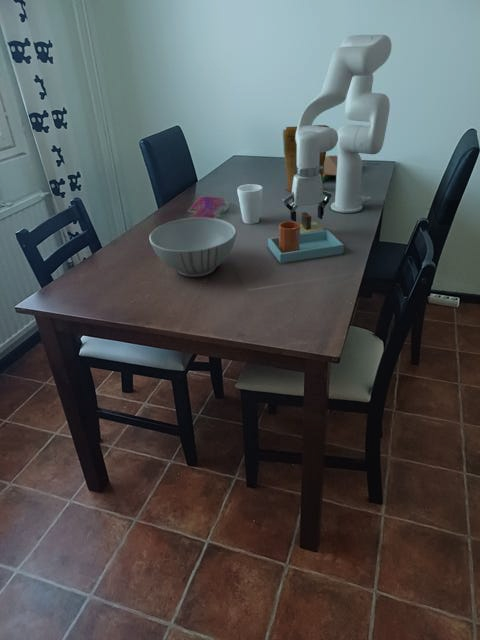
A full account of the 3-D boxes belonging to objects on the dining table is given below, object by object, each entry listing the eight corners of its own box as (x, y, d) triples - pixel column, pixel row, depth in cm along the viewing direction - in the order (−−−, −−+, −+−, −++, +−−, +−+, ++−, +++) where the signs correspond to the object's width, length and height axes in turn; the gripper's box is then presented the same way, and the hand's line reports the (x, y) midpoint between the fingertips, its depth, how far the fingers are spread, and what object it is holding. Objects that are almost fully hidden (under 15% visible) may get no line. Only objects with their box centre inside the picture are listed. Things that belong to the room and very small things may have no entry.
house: (360, 166, 241) (362, 150, 236) (340, 185, 217) (341, 167, 212) (318, 163, 250) (318, 147, 246) (293, 180, 226) (293, 163, 222)
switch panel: (314, 228, 175) (314, 220, 174) (323, 237, 168) (324, 229, 166) (283, 232, 173) (283, 224, 172) (291, 242, 166) (291, 234, 164)
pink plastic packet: (215, 230, 179) (214, 217, 176) (177, 228, 182) (176, 215, 179) (234, 203, 203) (234, 191, 200) (201, 202, 206) (199, 190, 203)
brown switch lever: (301, 224, 171) (301, 212, 168) (305, 224, 171) (306, 211, 169) (306, 229, 167) (306, 216, 164) (310, 229, 167) (311, 216, 165)
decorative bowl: (206, 296, 137) (203, 257, 130) (137, 276, 149) (130, 241, 143) (253, 259, 156) (252, 224, 149) (188, 245, 168) (184, 212, 162)
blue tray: (327, 238, 167) (327, 229, 165) (343, 254, 156) (343, 244, 154) (268, 247, 163) (268, 238, 161) (280, 264, 152) (280, 254, 150)
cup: (295, 246, 162) (295, 220, 156) (302, 254, 156) (302, 227, 151) (276, 249, 160) (276, 222, 155) (282, 257, 155) (282, 230, 150)
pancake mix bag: (325, 194, 208) (328, 126, 193) (282, 192, 212) (282, 126, 197) (326, 189, 213) (330, 123, 198) (284, 188, 218) (285, 123, 203)
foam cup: (260, 225, 180) (260, 192, 173) (237, 225, 182) (235, 191, 175) (264, 216, 188) (264, 184, 181) (241, 216, 190) (240, 183, 183)
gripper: (328, 165, 163) (326, 212, 172) (279, 171, 160) (280, 219, 170) (336, 171, 157) (333, 220, 166) (286, 177, 154) (286, 226, 164)
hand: (306, 219), depth 168 cm, fingers open, 9 cm apart
